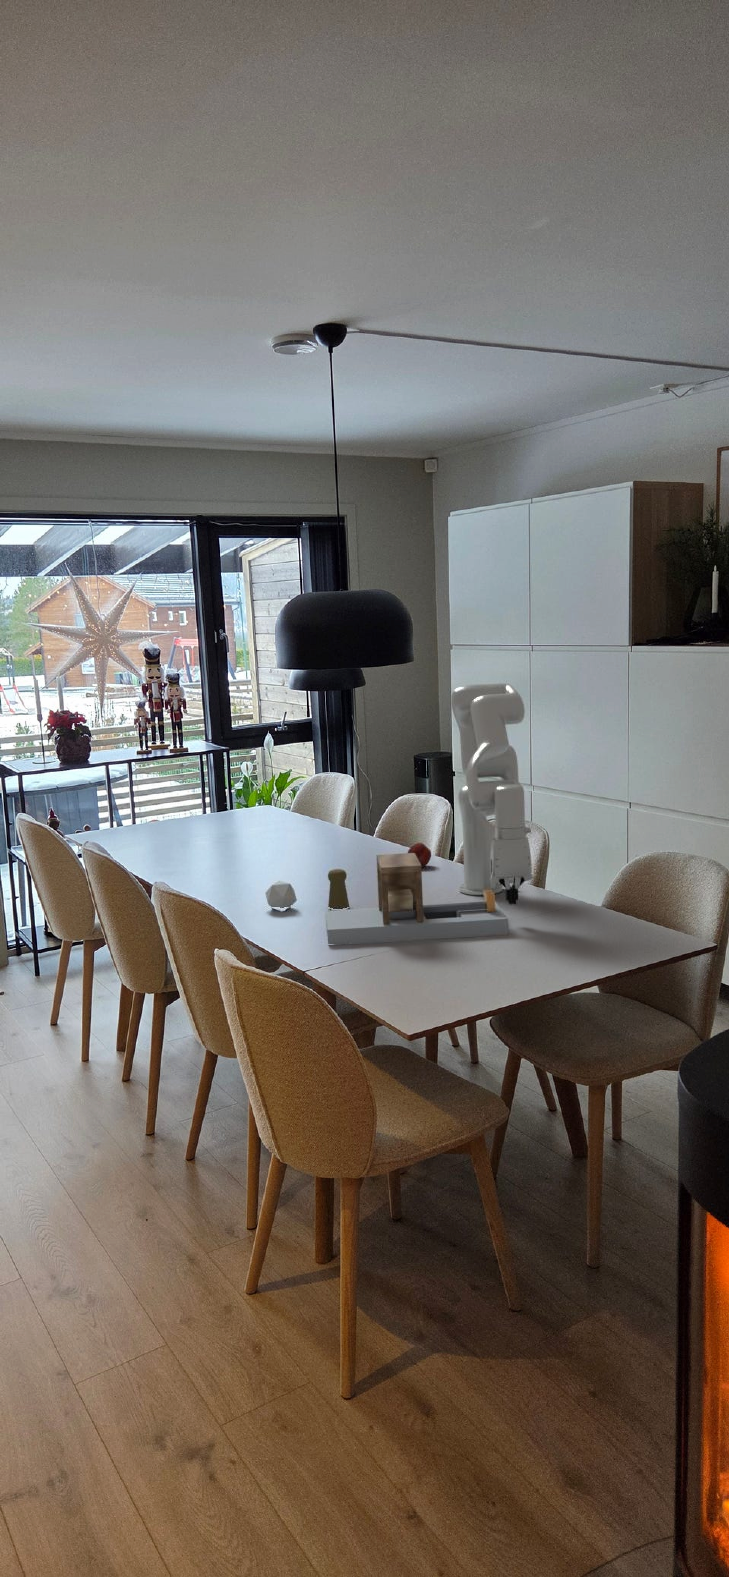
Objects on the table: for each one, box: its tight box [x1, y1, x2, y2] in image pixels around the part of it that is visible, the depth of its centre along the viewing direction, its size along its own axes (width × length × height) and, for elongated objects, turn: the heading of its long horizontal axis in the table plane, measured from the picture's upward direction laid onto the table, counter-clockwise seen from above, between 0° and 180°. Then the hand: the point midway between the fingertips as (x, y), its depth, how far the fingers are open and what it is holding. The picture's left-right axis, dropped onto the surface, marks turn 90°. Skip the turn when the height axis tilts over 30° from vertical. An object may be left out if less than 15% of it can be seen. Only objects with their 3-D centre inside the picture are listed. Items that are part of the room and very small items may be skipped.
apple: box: [407, 842, 432, 868], centre depth 337 cm, size 7×8×8 cm
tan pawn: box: [327, 868, 350, 909], centre depth 291 cm, size 6×6×11 cm
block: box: [388, 889, 413, 911], centre depth 265 cm, size 6×6×6 cm
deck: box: [325, 900, 509, 945], centre depth 266 cm, size 45×18×4 cm, turn 94°
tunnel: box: [376, 852, 424, 925], centre depth 265 cm, size 10×15×14 cm, turn 4°
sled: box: [381, 889, 496, 920], centre depth 266 cm, size 28×9×4 cm, turn 94°
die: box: [265, 880, 298, 908], centre depth 292 cm, size 8×9×10 cm
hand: (512, 902), depth 267 cm, fingers closed
